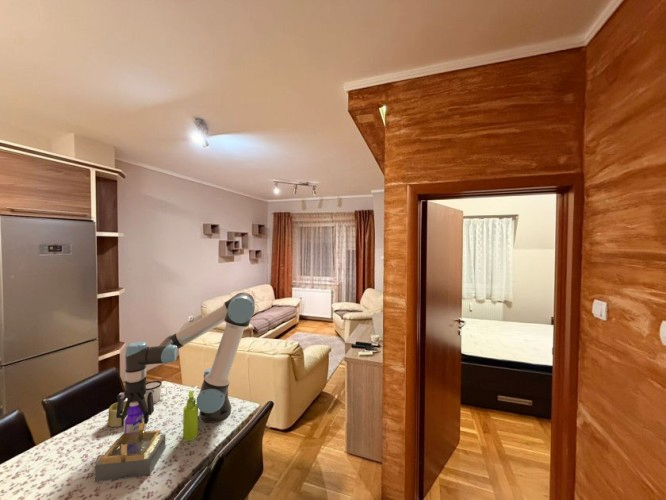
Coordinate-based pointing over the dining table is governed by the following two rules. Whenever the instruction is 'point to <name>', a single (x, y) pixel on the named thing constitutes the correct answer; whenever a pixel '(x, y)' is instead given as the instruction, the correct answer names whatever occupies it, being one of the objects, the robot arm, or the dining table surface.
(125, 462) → the grey and tan box
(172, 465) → the dining table surface
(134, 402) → the bottle
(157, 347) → the robot arm
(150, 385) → the mug
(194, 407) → the soap dispenser
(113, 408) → the mug
